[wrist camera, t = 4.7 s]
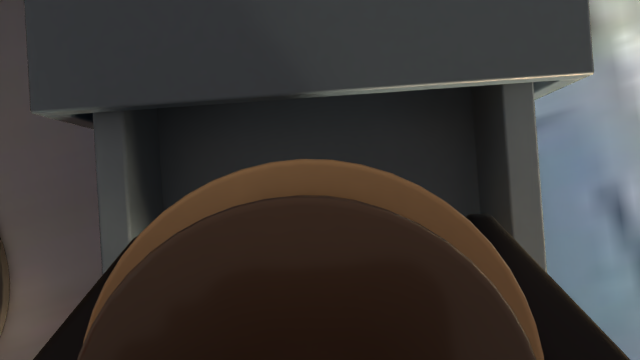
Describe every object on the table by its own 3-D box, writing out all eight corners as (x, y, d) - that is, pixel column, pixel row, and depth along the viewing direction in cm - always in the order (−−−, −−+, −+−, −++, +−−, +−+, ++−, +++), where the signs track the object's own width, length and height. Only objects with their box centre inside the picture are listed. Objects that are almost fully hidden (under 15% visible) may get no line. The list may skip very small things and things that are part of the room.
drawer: (539, 559, 18) (599, 667, 14) (154, 580, 18) (103, 692, 14) (501, 40, 18) (549, -4, 14) (123, 66, 19) (65, 32, 15)
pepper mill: (425, 338, 17) (747, 847, 4) (253, 366, 17) (-16, 963, 4) (395, 164, 17) (607, 78, 4) (224, 194, 17) (-133, 208, 4)
